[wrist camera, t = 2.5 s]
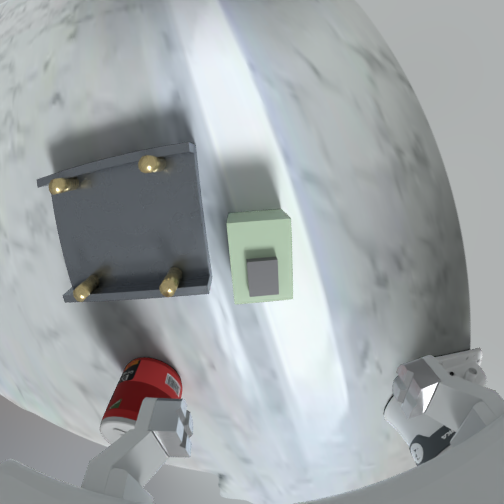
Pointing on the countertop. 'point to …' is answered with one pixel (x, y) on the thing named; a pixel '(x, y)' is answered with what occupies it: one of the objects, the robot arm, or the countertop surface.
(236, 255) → the pale green block
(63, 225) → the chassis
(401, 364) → the robot arm
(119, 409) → the canned food
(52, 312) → the countertop surface
